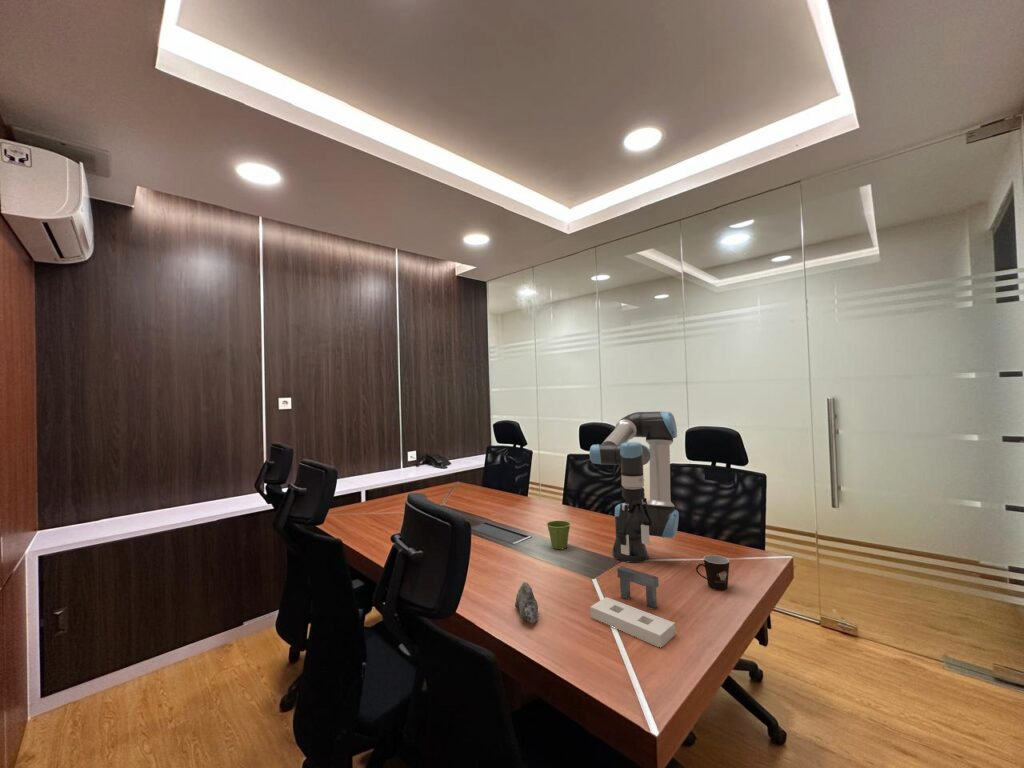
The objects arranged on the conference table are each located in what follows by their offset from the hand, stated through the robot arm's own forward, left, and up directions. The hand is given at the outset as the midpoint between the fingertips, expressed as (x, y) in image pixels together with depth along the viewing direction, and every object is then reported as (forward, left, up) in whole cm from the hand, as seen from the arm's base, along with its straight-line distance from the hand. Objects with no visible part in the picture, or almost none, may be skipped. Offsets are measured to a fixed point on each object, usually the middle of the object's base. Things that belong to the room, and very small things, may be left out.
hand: (635, 548), depth 143 cm
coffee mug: (+14, +29, -19) cm, 37 cm away
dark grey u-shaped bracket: (0, 0, -18) cm, 18 cm away
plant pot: (-55, +23, -19) cm, 63 cm away
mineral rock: (-22, -33, -19) cm, 44 cm away
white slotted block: (+6, -15, -18) cm, 24 cm away
